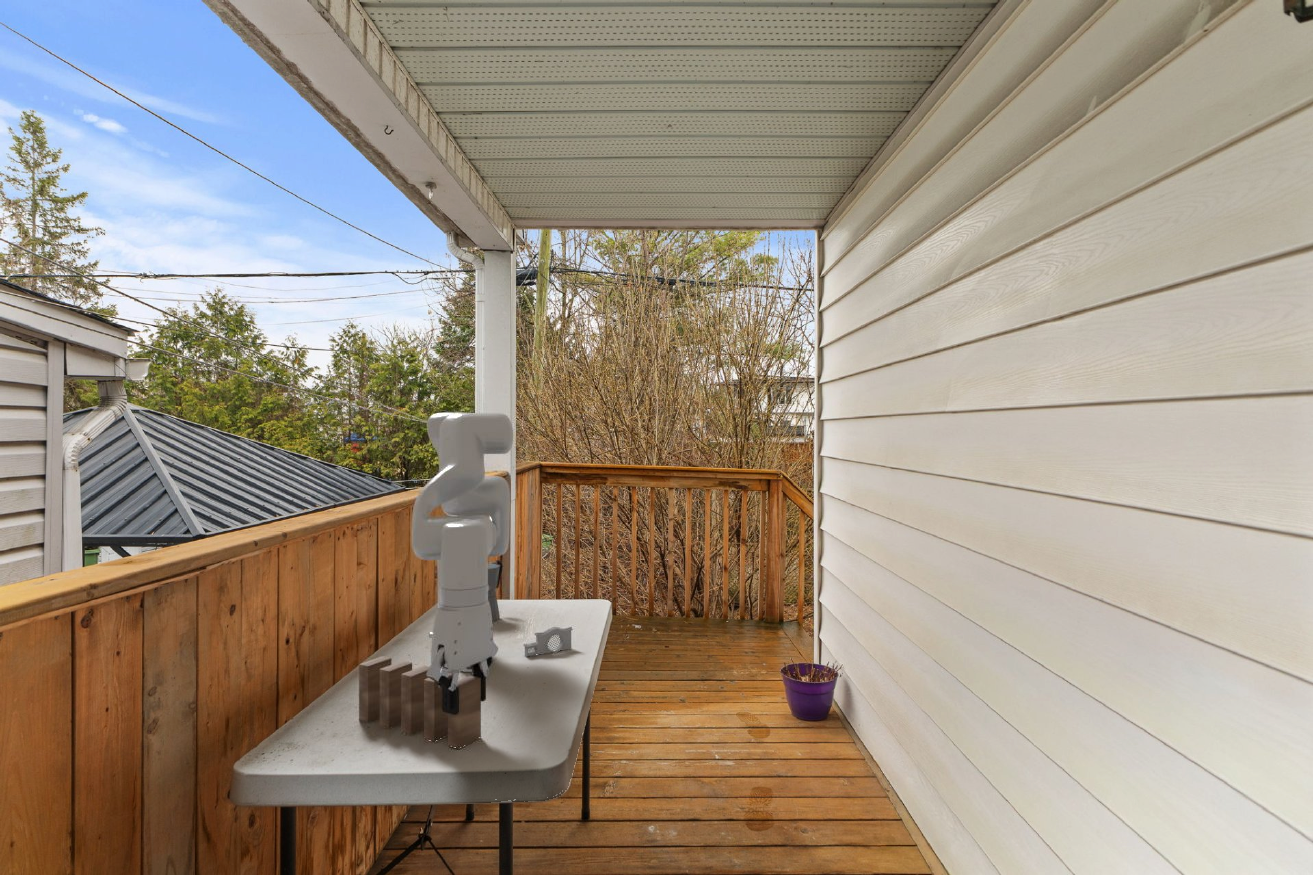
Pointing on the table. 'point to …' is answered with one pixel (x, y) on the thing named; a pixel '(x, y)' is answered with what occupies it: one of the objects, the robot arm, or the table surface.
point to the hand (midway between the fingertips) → (464, 704)
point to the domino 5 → (466, 713)
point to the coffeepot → (494, 586)
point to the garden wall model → (544, 639)
